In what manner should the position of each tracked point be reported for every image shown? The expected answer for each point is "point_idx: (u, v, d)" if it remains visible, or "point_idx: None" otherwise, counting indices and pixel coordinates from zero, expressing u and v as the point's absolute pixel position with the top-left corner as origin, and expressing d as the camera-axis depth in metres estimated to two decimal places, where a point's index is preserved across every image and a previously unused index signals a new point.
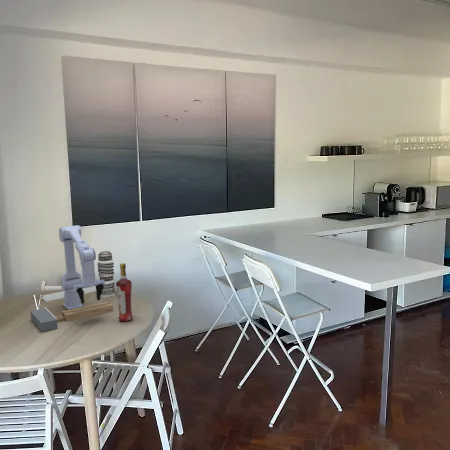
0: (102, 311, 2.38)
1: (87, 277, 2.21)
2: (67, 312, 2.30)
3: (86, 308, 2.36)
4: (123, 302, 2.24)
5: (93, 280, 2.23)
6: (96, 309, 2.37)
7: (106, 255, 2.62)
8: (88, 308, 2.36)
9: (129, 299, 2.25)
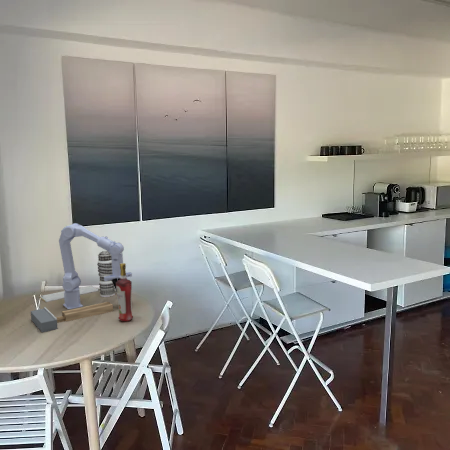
0: (102, 311, 2.38)
1: (117, 270, 2.41)
2: (67, 312, 2.30)
3: (86, 308, 2.36)
4: (123, 302, 2.24)
5: None
6: (96, 309, 2.37)
7: (106, 255, 2.62)
8: (88, 308, 2.36)
9: (129, 299, 2.25)
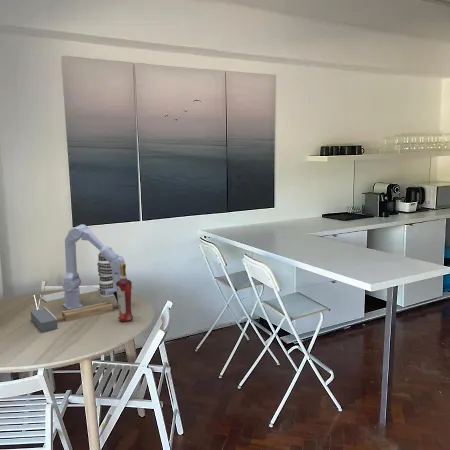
0: (102, 311, 2.38)
1: None
2: (67, 312, 2.30)
3: (86, 308, 2.36)
4: (123, 302, 2.24)
5: None
6: (96, 309, 2.37)
7: None
8: (88, 308, 2.36)
9: (129, 299, 2.25)
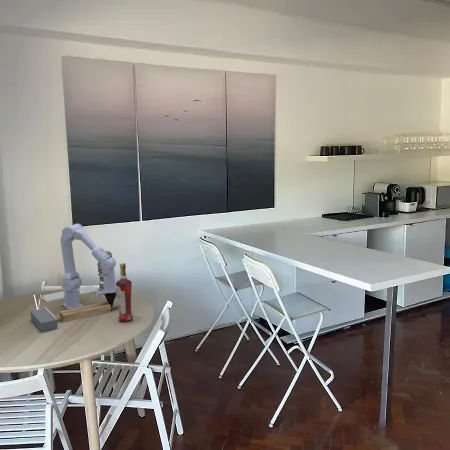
0: (100, 311, 2.38)
1: (108, 285, 2.39)
2: (65, 313, 2.30)
3: (84, 308, 2.35)
4: (123, 302, 2.24)
5: (113, 287, 2.41)
6: (94, 309, 2.36)
7: None
8: (86, 309, 2.35)
9: (129, 299, 2.25)
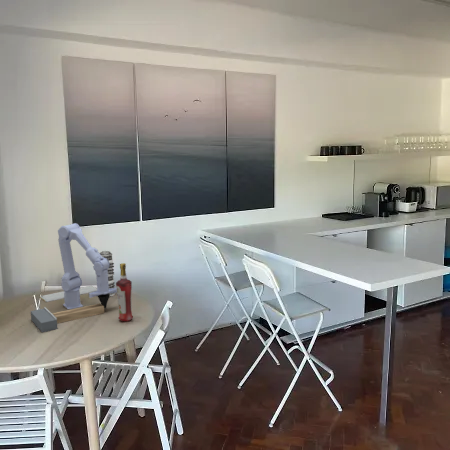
0: (93, 313, 2.36)
1: (101, 286, 2.37)
2: (58, 314, 2.28)
3: (77, 310, 2.33)
4: (123, 302, 2.24)
5: (107, 288, 2.39)
6: (87, 311, 2.34)
7: (106, 255, 2.62)
8: (79, 310, 2.33)
9: (129, 299, 2.25)
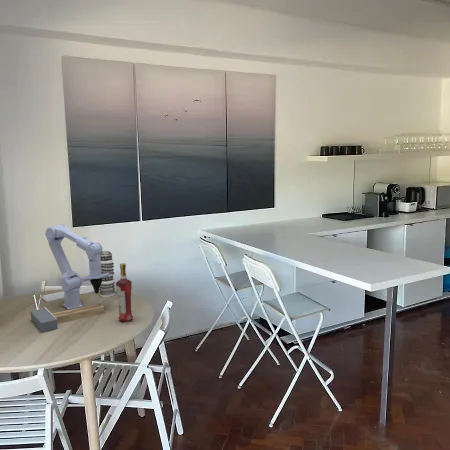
0: (93, 313, 2.36)
1: (94, 270, 2.37)
2: (58, 314, 2.28)
3: (77, 310, 2.33)
4: (123, 302, 2.24)
5: (99, 273, 2.39)
6: (87, 311, 2.34)
7: (106, 255, 2.62)
8: (79, 310, 2.33)
9: (129, 299, 2.25)
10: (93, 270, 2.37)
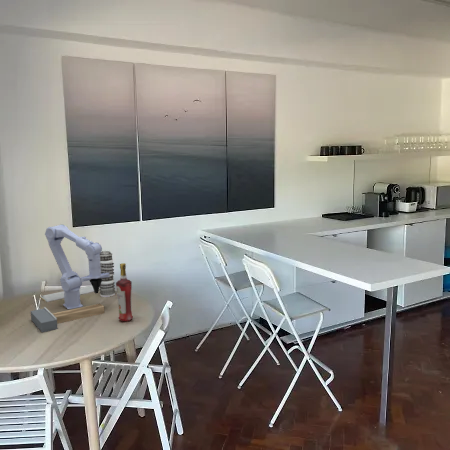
0: (93, 313, 2.36)
1: (93, 270, 2.37)
2: (58, 314, 2.28)
3: (77, 310, 2.33)
4: (123, 302, 2.24)
5: (99, 272, 2.39)
6: (87, 311, 2.34)
7: (106, 255, 2.62)
8: (79, 310, 2.33)
9: (129, 299, 2.25)
10: (93, 270, 2.37)
